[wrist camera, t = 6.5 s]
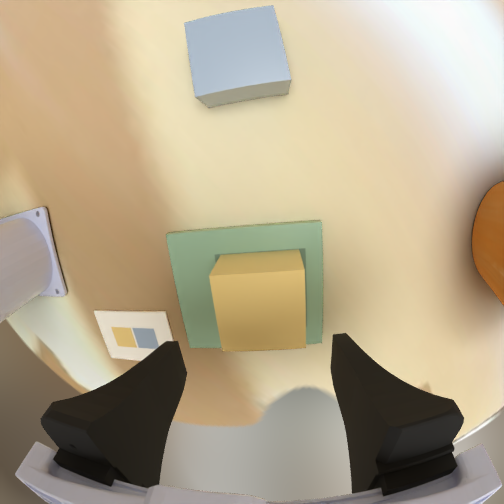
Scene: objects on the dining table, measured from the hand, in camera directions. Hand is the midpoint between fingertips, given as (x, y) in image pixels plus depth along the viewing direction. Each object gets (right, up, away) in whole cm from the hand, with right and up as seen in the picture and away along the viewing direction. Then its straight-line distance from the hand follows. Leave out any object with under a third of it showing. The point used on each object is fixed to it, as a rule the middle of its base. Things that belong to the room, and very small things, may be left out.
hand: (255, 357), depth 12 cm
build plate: (0, +2, +7) cm, 8 cm away
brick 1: (-1, +17, +3) cm, 17 cm away
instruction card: (-10, -2, +9) cm, 14 cm away
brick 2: (+1, +2, +6) cm, 7 cm away
